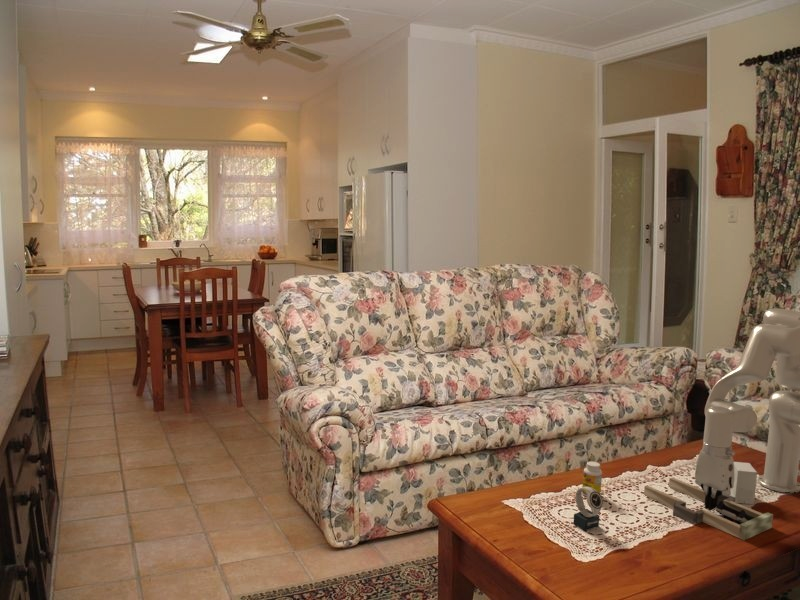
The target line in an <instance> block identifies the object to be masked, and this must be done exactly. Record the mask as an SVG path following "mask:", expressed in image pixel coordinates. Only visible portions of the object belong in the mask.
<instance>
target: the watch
mask: <svg viewBox="0 0 800 600" xmlns="http://www.w3.org/2000/svg"><path fill="white" fill-rule="evenodd" d="M583 489H584V490H586V494H587V497H586V503H587V505H588V507H589V508H590V509H586V506H585V503H584V498H583V496H582V495H583V493H582V491H583ZM574 499H575V504H576V507H577V510H578V512H576V513H574V514H573V525H574V526H576V527H578V528H580V529H581V530H582V531H585V532H586V531H588V530H591V529H592V530H593V529H595V528H597V527H599V526H600V525H599V524H600V515H599V514H600V512H601V511H602V507H603V503H604V499H603V496H602V495H601V493H600V494H599V493H598V492H597V491H596V490H595V489H593V488H591V487H588V486H587V487H583V488H582V487H580V488H577V490H576V492H575V497H574Z"/></svg>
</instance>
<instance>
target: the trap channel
mask: <svg viewBox="0 0 800 600" xmlns="http://www.w3.org/2000/svg"><path fill="white" fill-rule="evenodd" d="M669 487H670V488H669ZM668 488H669V489H672V490H675V491H676V492H679V491H680V492H679V493H681V492H682V494H684V495H686V494H687V496H688V495H689V497H690V498H694V499H696V500H698V501H701V502H703V503H705V495H704V491H703V489H702V488H701V487H700V488H699V487H698V486H695V485H692V484H690V483H687V482H685V481H682V480H679V479H678V478H675V477H669V480H668ZM644 495H645V496H647V497H646V498H648V497H649V498H648V499H650V498H651V499H650V500H652V499H653V500H652V501H654V500H656V501H655V502H657V501H658V502H657V503H659V502H660V503H659V504H661V503H662V505H663V504H664V505H663V506H666V507H668V508H670V509H672V515H673V516H676V517H677V518H679V517H680V518H679V519H682V520H685V521H686V522H688V521H689V524H690V523H691V524H701V523H704V524H706V525H709V526H711V527H712V528H715V529H718V530H720V531H722V532H723V533H724V532H725V533H727V534H728V535H731V536H734V537H736V538H738V539H740V540H742V541H747V540H748V539H750V538H753V537H755V536H756V535H760V534H761V533H764V532H766V531H767V530H771V529H772V527H773V519H774V514H773V513H770V512H769V511H768V512H765V513H763V512H760V511H756V510H755V509H752V508H750V507H747V506H745V505H742V504H741V503H735V497H733V496H730V495H729V496H724V495H720V496H719V497H718V502H721V501H723V502H724V504H725V505H726V506H727V507H730V508H732V509H734V510H737V511H739V512H740V511H741V510H744V511H745V513H746V514H747V515H750V516H753V517H755V518H754V519H751V520H749V521H747V522H744V523H741V524H736V523H735V521H731V520H730V519H728V520H727V519H725V518H724V517H722V516H720V515H717V514H715V513H712V512H710V511H709V510H707V509H704V508H700V509H697V510H692V509H690V508H688V507H687V501H684V500H682V499H680V498H678V497H675V496H673V495H672V494H671V495H670V494H669V493H666V492H663V491H662V490H659V489H658V488H654V487H651V486H649V485H646V486H644V490H643V496H644ZM645 496H644V497H645Z"/></svg>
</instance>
